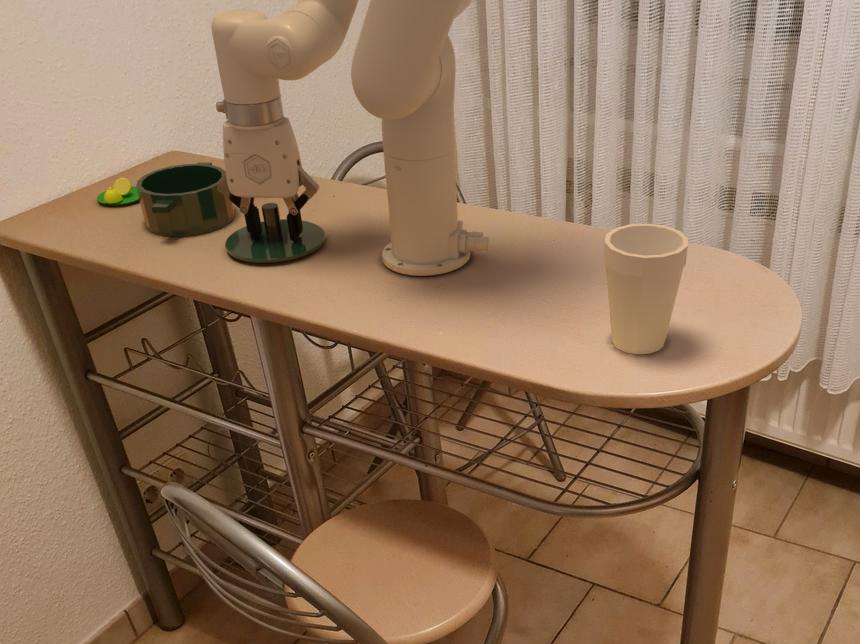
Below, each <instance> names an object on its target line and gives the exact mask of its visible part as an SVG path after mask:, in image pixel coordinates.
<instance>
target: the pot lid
mask: <svg viewBox="0 0 860 644" xmlns="http://www.w3.org/2000/svg"><path fill="white" fill-rule="evenodd" d="M261 212H262V213H261V214H262V218H263V221H261V226H262V233H261V235H260V236H259V237H258V238H257V239H256V240H251V235H250V232H248V231H247V227H246V226H243V227H241V228H239V229H237V230H235V231H234V232H233V233H231V234H230V235H229V236H228V237H227V238H226V241H225V243H224V245H225V250H226V252H227V254H229V256H231V257H233V258H235V259H237V260H239V261H245V262H248V263H249V262H250V263H263V264H264V263H268V264H269V263H278V262H279V263H281V262H285V261H290V260H295V259H298V258H301V257H305V256H307V255H309V254H311V253H313V252H315V251H316V250H318V249H319V248H320V247H322V245H323V244H324V243H325V240H326V234H325V231H324V229H323V228H322V227H321V226H320V225H318V224H316V223H313V222H310V221H307V220H302V226H303V231H302V233H300V235H299V237H298V238H297V240H296V241H291V240H290V235H289V229H288V223H287V218H285V219H284V218H283V219H282V218H281V214H280V207H279V204H278V203H276V202H267V203H264V204H262V205H261Z"/></svg>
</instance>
